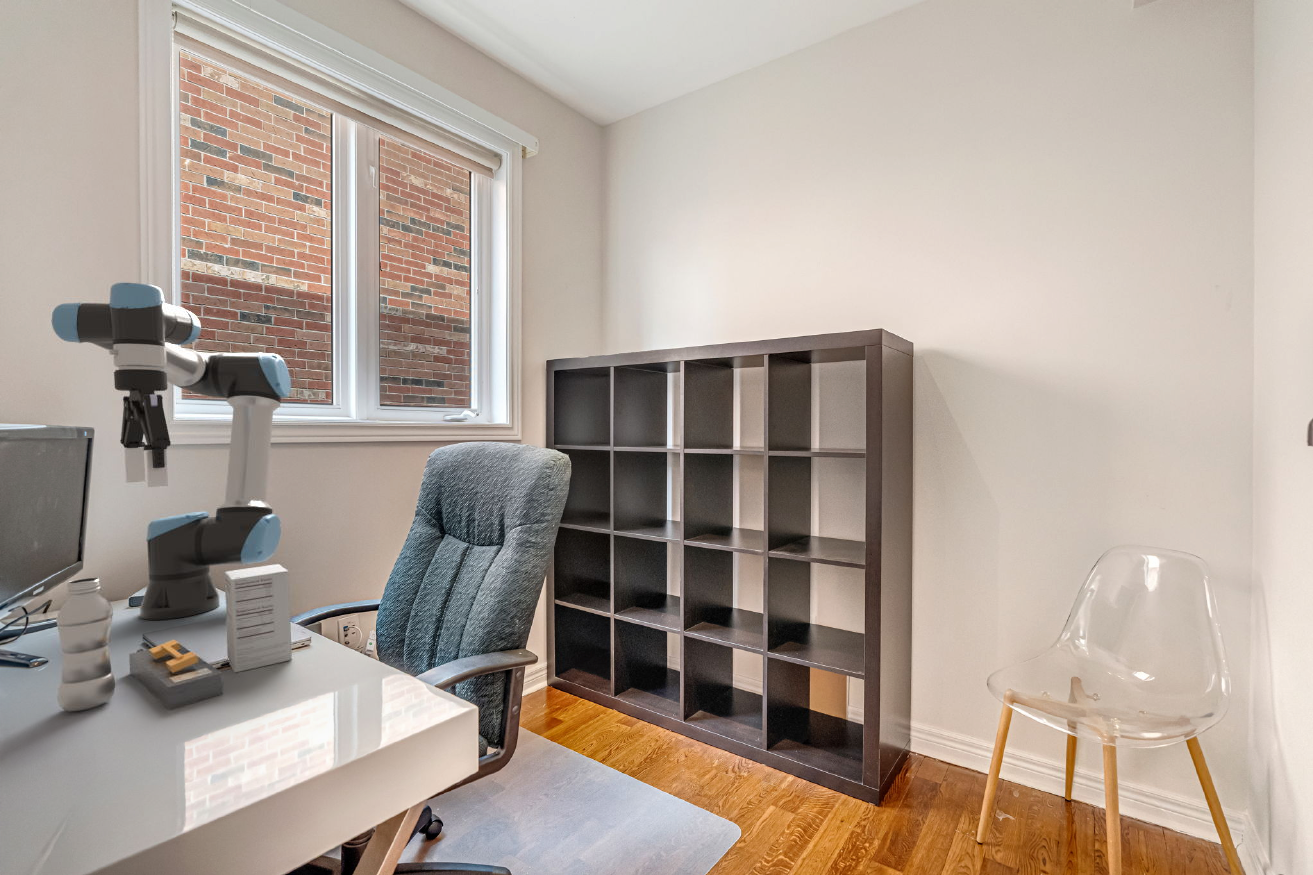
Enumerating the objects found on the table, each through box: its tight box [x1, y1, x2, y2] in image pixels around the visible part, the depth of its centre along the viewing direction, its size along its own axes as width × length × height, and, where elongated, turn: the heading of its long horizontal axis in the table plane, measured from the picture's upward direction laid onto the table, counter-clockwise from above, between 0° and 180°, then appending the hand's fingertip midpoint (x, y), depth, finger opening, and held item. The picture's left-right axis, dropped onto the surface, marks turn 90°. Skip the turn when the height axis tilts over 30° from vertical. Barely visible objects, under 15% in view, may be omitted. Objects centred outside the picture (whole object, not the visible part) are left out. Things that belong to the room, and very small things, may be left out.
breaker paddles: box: [149, 639, 199, 673], centre depth 106 cm, size 13×4×2 cm, turn 52°
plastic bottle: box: [55, 577, 116, 712], centre depth 97 cm, size 6×7×20 cm
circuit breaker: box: [128, 643, 224, 711], centre depth 109 cm, size 34×7×4 cm, turn 52°
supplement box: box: [224, 563, 293, 673], centre depth 116 cm, size 10×9×17 cm
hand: (146, 484), depth 115 cm, fingers open, 13 cm apart
